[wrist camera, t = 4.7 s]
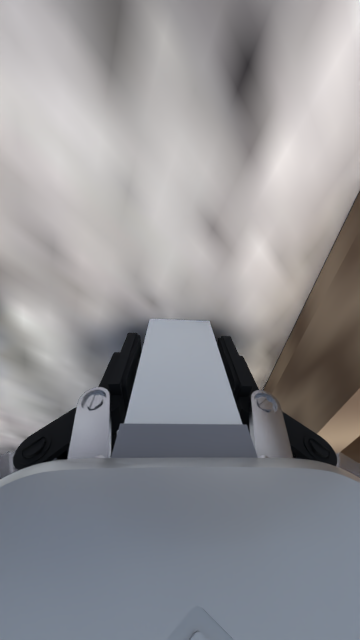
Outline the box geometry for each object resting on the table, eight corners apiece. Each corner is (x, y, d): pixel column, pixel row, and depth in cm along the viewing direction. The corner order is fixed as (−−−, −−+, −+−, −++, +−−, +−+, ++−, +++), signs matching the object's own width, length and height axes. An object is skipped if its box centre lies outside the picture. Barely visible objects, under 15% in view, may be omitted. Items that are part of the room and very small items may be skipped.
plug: (203, 364, 14) (230, 511, 7) (150, 362, 14) (124, 512, 7) (211, 319, 12) (262, 469, 5) (148, 317, 11) (107, 470, 5)
